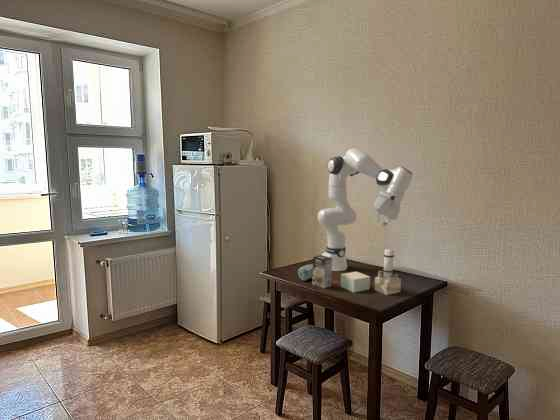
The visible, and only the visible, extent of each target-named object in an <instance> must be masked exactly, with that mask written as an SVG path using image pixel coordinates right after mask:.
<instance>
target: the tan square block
mask: <svg viewBox="0 0 560 420" xmlns="http://www.w3.org/2000/svg"><path fill="white" fill-rule="evenodd" d="M383 276H384V271H383V270H378V272H377V276H375V277H374V288H373V289H374V291H376V292H378V293H381V294H384V295H385V296H389V295H393V294H398V293H401V290H402V289H401V288H402V278H399V273H393V274H391V275H388V279H384V278H383Z"/></svg>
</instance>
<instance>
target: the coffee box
mask: <svg viewBox="0 0 560 420" xmlns="http://www.w3.org/2000/svg"><path fill="white" fill-rule="evenodd" d="M312 264H313V278H311V279H312V281H311V283H312V285H313V286H315V285H316V286H317V287H318V286H319V287H318V288H321V287H322V288H321V289H326V287H327V288H330V287H332V285H331V282H332V272H333V271H332V258H330V257H326V256H323V255H322V254H319V255H314V256H313V257H312Z"/></svg>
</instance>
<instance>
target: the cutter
mask: <svg viewBox="0 0 560 420" xmlns="http://www.w3.org/2000/svg"><path fill="white" fill-rule="evenodd" d="M334 285H335V287H340V288H342V287H341V281H338V280H334V279H332V281H331V286H334Z"/></svg>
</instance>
